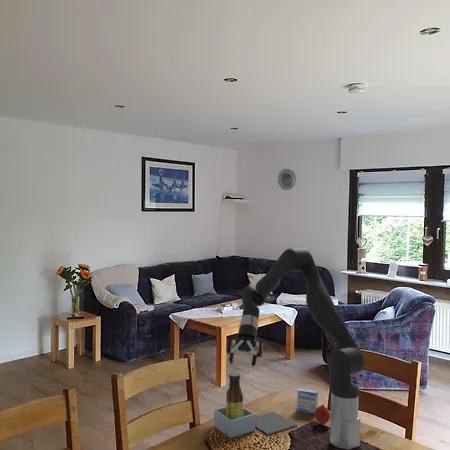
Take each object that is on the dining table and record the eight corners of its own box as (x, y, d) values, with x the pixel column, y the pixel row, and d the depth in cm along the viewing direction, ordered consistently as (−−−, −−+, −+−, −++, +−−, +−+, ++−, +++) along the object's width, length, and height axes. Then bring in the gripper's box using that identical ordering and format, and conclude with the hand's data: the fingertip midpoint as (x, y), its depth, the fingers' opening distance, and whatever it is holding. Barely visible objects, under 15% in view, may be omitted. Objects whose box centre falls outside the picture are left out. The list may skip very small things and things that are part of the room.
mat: (297, 426, 175) (297, 424, 175) (268, 435, 167) (268, 433, 167) (272, 412, 187) (272, 411, 187) (244, 420, 179) (244, 419, 179)
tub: (255, 430, 171) (255, 414, 171) (230, 437, 165) (231, 420, 165) (237, 419, 180) (238, 403, 180) (213, 425, 174) (214, 409, 174)
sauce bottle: (246, 428, 173) (248, 374, 172) (235, 433, 168) (236, 378, 168) (233, 422, 177) (234, 370, 177) (222, 427, 172) (223, 374, 172)
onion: (311, 424, 177) (311, 403, 177) (319, 420, 181) (320, 399, 181) (324, 429, 173) (325, 408, 173) (332, 425, 177) (333, 404, 177)
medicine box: (296, 412, 188) (297, 390, 188) (298, 407, 192) (298, 386, 192) (316, 415, 186) (317, 393, 186) (317, 410, 190) (318, 389, 190)
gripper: (230, 322, 193) (222, 357, 182) (264, 324, 190) (259, 361, 179) (232, 332, 198) (225, 367, 187) (266, 334, 195) (260, 370, 184)
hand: (242, 364), depth 183 cm, fingers open, 8 cm apart
